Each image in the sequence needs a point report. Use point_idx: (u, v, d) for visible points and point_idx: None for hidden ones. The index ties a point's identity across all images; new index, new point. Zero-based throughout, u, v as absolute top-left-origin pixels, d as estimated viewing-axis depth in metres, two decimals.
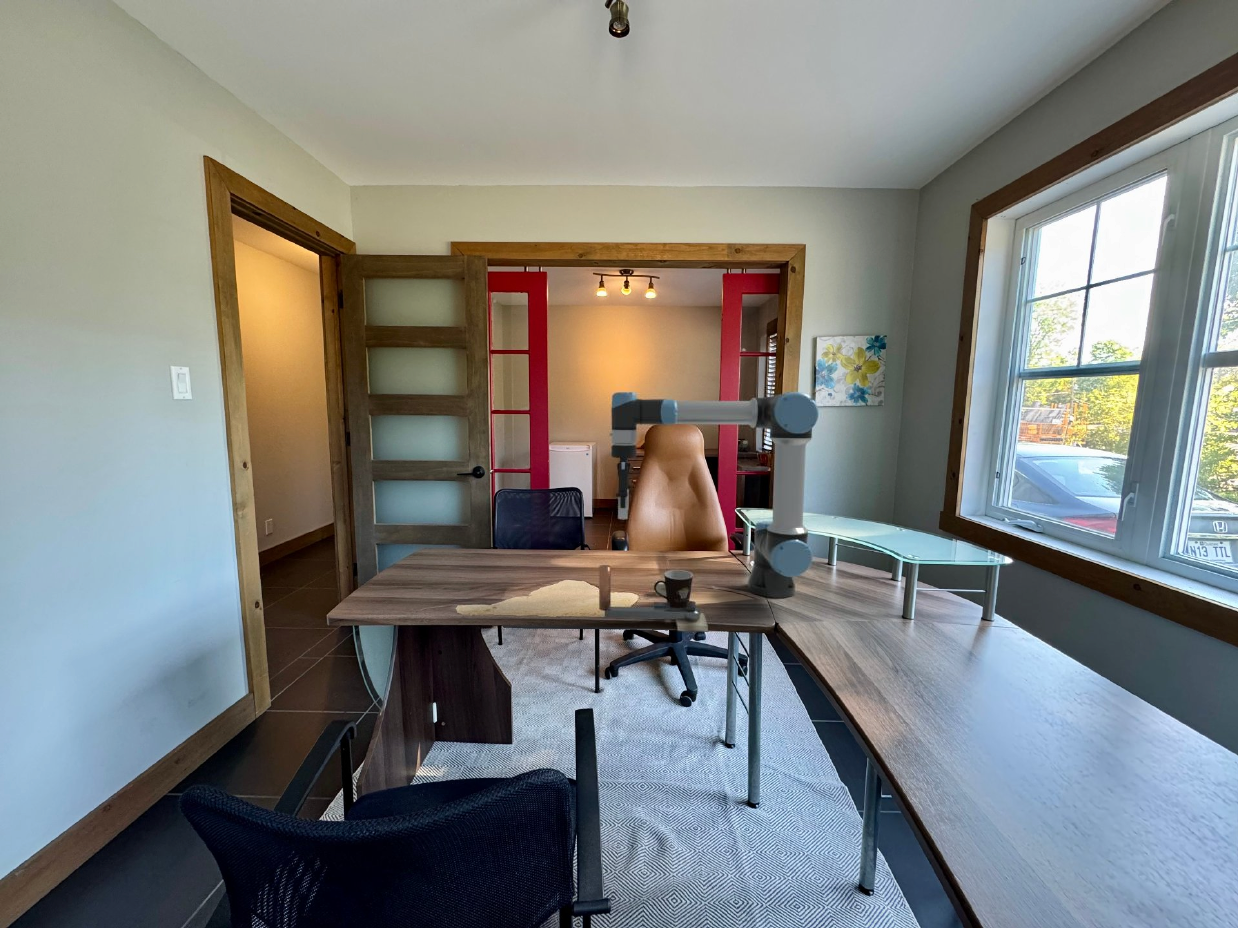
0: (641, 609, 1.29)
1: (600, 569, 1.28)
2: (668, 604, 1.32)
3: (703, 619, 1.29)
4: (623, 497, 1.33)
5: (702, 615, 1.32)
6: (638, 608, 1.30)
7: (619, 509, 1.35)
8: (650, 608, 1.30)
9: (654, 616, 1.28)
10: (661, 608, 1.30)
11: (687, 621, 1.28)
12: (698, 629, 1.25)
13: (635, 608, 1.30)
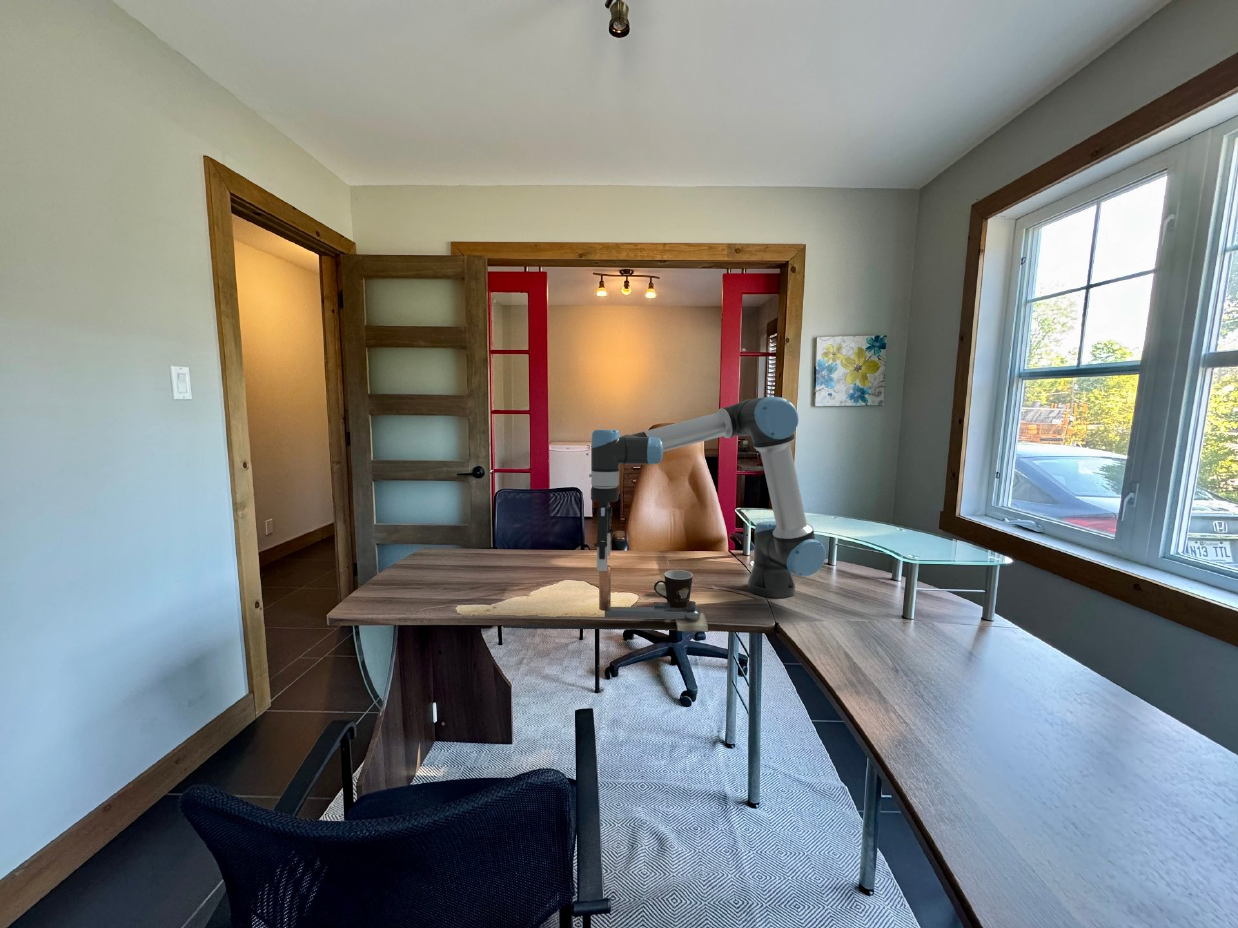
0: (641, 609, 1.29)
1: None
2: (668, 604, 1.32)
3: (703, 619, 1.29)
4: (602, 547, 1.20)
5: (702, 615, 1.32)
6: (638, 608, 1.30)
7: (598, 560, 1.21)
8: (650, 608, 1.30)
9: (654, 616, 1.28)
10: (661, 608, 1.30)
11: (687, 621, 1.28)
12: (698, 629, 1.25)
13: (635, 608, 1.30)
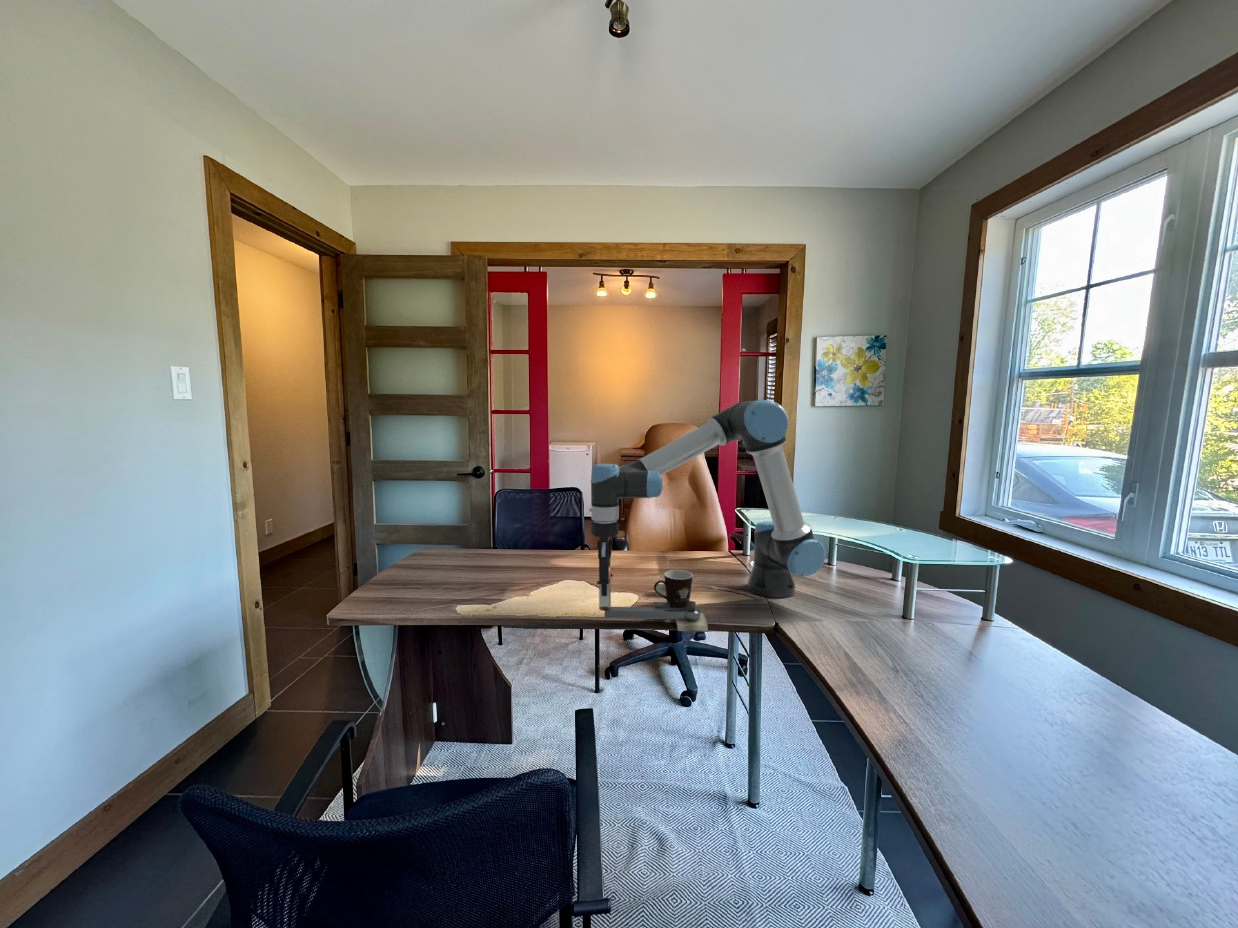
0: (641, 609, 1.29)
1: None
2: (668, 604, 1.32)
3: (703, 619, 1.29)
4: (604, 585, 1.26)
5: (702, 615, 1.32)
6: (638, 608, 1.30)
7: (600, 596, 1.27)
8: (650, 608, 1.30)
9: (654, 616, 1.28)
10: (661, 608, 1.30)
11: (687, 621, 1.28)
12: (698, 629, 1.25)
13: (635, 608, 1.30)
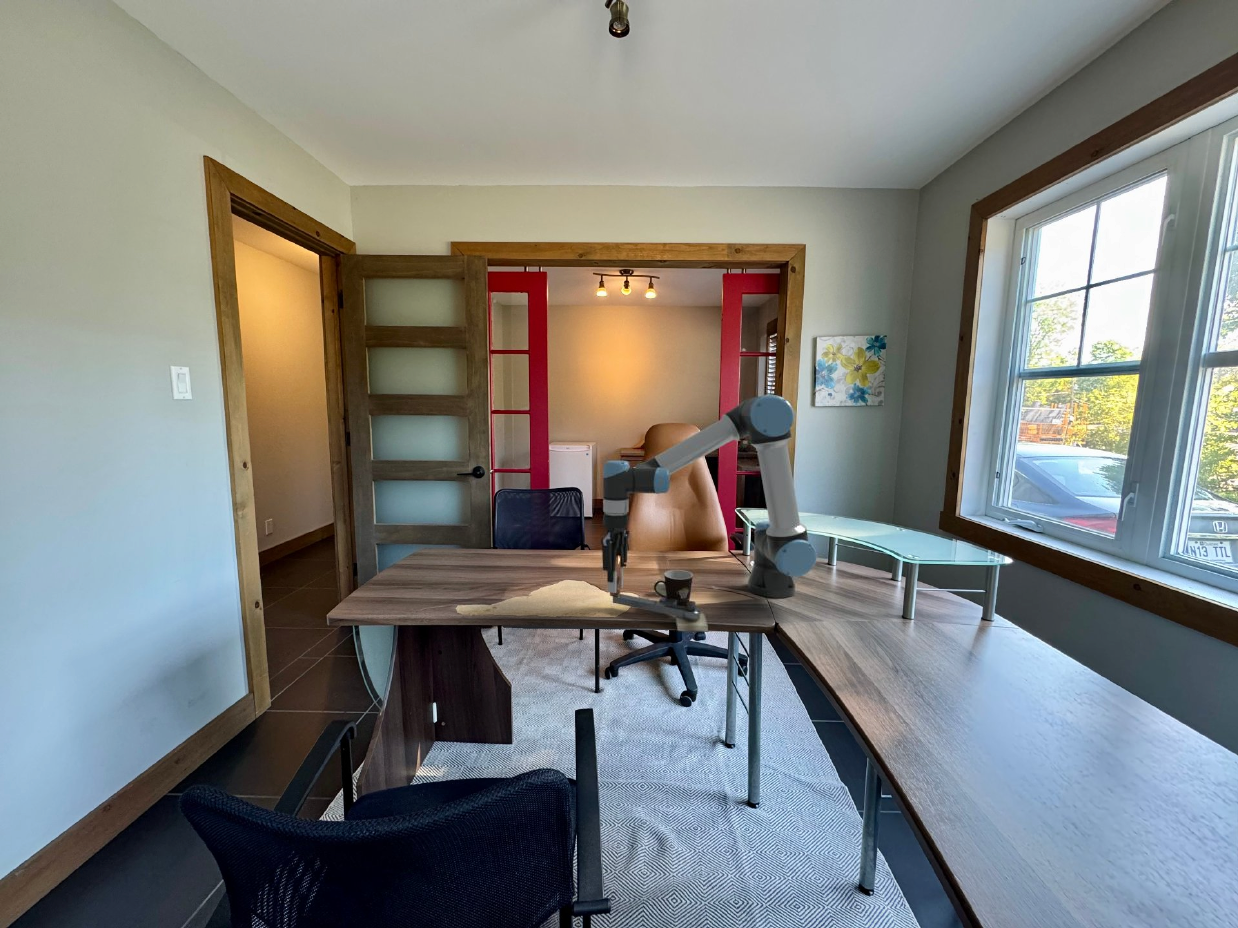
0: (645, 601, 1.35)
1: None
2: (673, 601, 1.34)
3: (703, 619, 1.29)
4: (609, 572, 1.36)
5: (702, 615, 1.32)
6: (643, 599, 1.36)
7: (608, 582, 1.38)
8: (654, 601, 1.35)
9: (655, 609, 1.33)
10: (664, 603, 1.34)
11: (687, 621, 1.28)
12: (698, 629, 1.25)
13: (641, 599, 1.37)
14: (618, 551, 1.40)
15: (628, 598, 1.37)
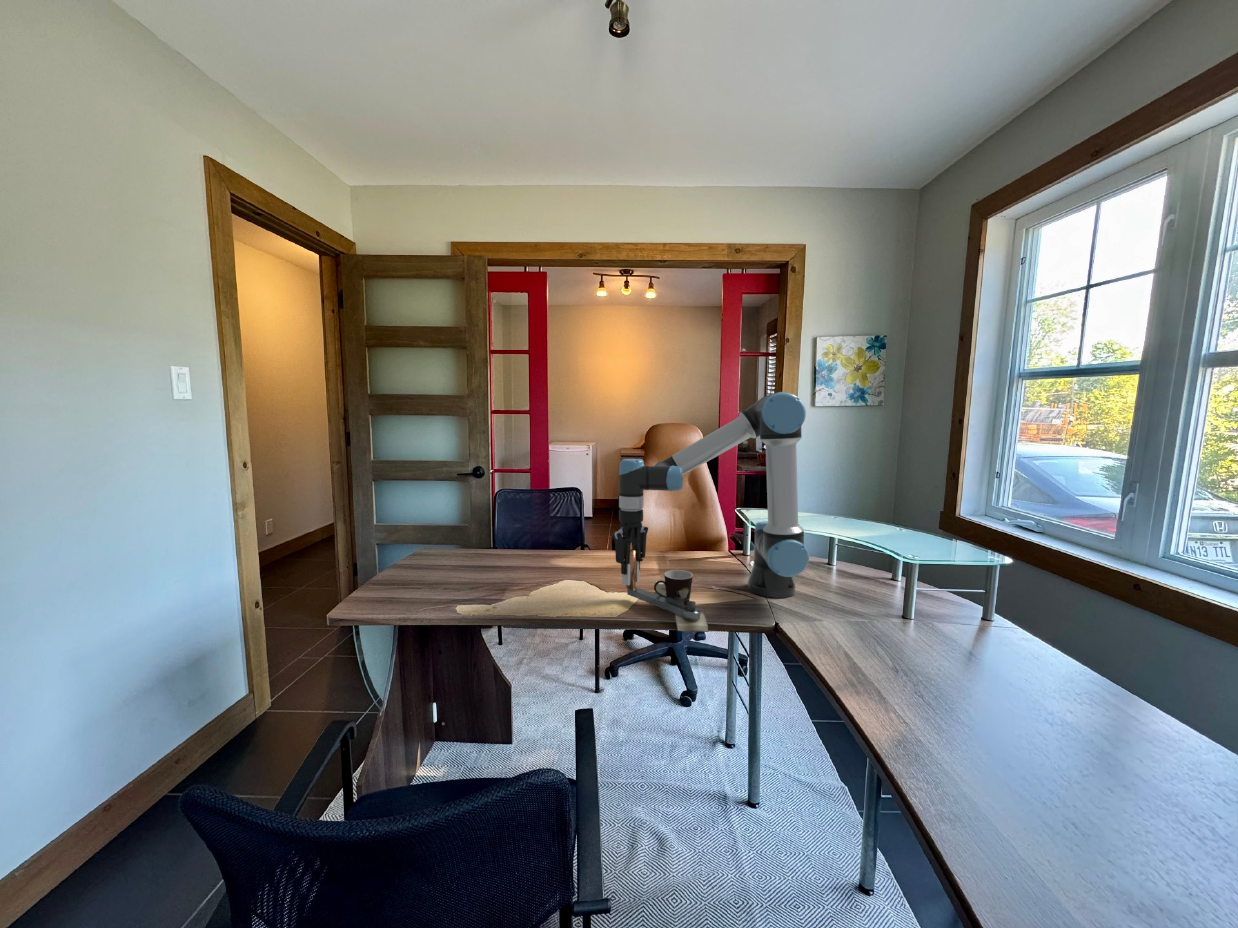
0: (654, 596, 1.39)
1: None
2: (679, 599, 1.35)
3: (703, 619, 1.29)
4: (622, 564, 1.43)
5: (702, 615, 1.32)
6: (653, 595, 1.40)
7: (623, 574, 1.45)
8: (662, 597, 1.38)
9: (660, 605, 1.36)
10: (670, 600, 1.36)
11: (687, 621, 1.28)
12: (698, 629, 1.25)
13: (651, 594, 1.41)
14: (634, 546, 1.46)
15: (640, 591, 1.42)
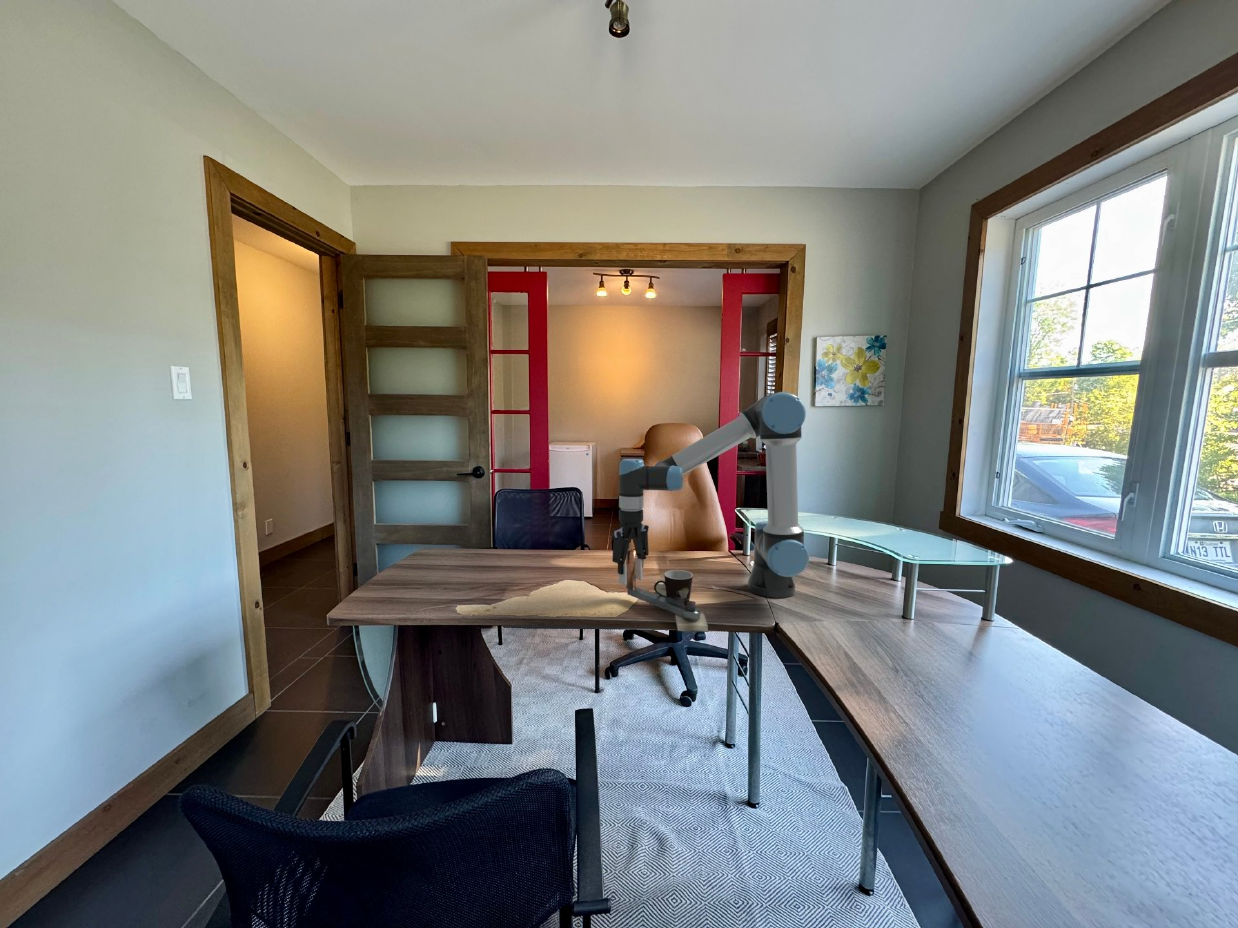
0: (654, 596, 1.39)
1: None
2: (679, 599, 1.35)
3: (703, 619, 1.29)
4: (619, 564, 1.42)
5: (702, 615, 1.32)
6: (653, 595, 1.40)
7: (619, 574, 1.44)
8: (662, 597, 1.38)
9: (660, 605, 1.36)
10: (670, 600, 1.36)
11: (687, 621, 1.28)
12: (698, 629, 1.25)
13: (651, 594, 1.41)
14: (636, 545, 1.47)
15: (640, 591, 1.43)
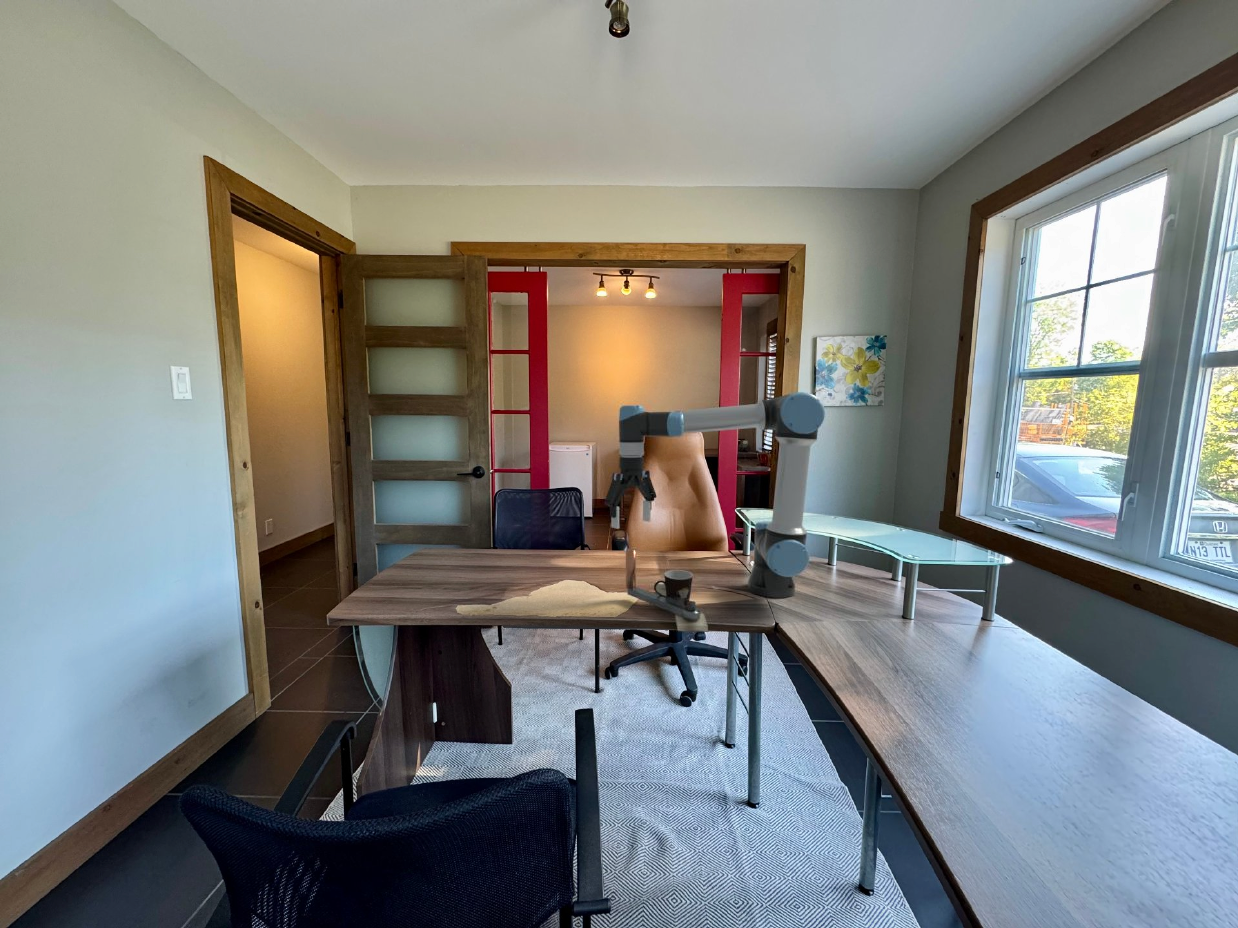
0: (654, 596, 1.39)
1: None
2: (679, 599, 1.35)
3: (703, 619, 1.29)
4: (611, 507, 1.38)
5: (702, 615, 1.32)
6: (653, 595, 1.40)
7: (612, 518, 1.40)
8: (662, 597, 1.38)
9: (660, 605, 1.36)
10: (670, 600, 1.36)
11: (687, 621, 1.28)
12: (698, 629, 1.25)
13: (651, 594, 1.41)
14: (641, 490, 1.47)
15: (640, 591, 1.43)
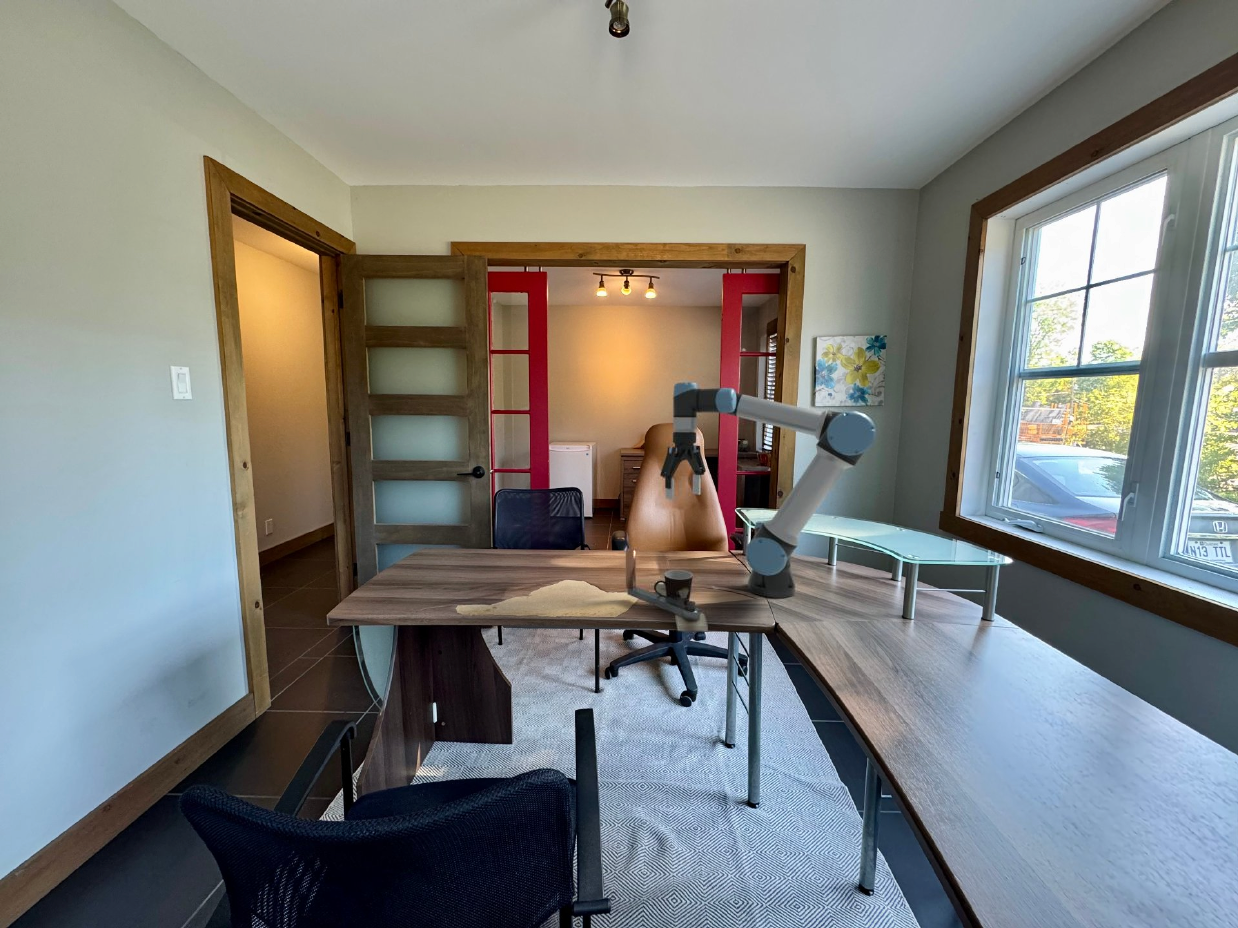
0: (654, 596, 1.39)
1: None
2: (679, 599, 1.35)
3: (703, 619, 1.29)
4: (667, 478, 1.46)
5: (702, 615, 1.32)
6: (653, 595, 1.40)
7: (666, 489, 1.48)
8: (662, 597, 1.38)
9: (660, 605, 1.36)
10: (670, 600, 1.36)
11: (687, 621, 1.28)
12: (698, 629, 1.25)
13: (651, 594, 1.41)
14: (693, 464, 1.54)
15: (640, 591, 1.43)
